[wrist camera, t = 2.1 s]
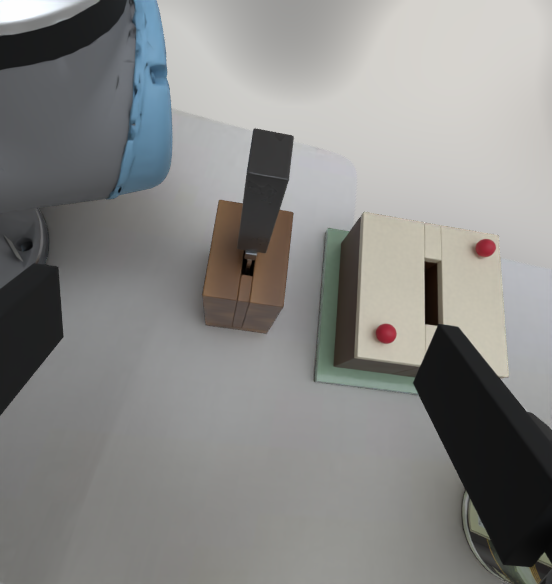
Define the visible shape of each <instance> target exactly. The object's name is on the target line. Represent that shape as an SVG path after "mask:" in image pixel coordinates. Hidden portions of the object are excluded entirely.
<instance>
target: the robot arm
mask: <svg viewBox="0 0 552 584" xmlns="http://www.w3.org/2000/svg"><path fill="white" fill-rule="evenodd" d="M166 77H167V66H166V49H165V41H164V34H163V28H162V22H161V17H160V12H159V8H158V4H157V1H156V0H0V415H1V414H2V413H3V411H4V410H5V409H6V408H7V406H8V405H9V404H10V403H11V401H12V400H13V399H14V398H15V396H16V395H17V394H18V393H19V392H20V390H21V389H22V388H23V387H24V385H25V384H26V383H27V382H28V380H29V379H30V378H31V377H32V375H33V374H34V373H35V372H36V370H37V369H38V368H39V367H40V365H41V364H42V363H43V362H44V360H45V359H46V358H47V357H48V355H49V354H50V353H51V352H52V350H53V349H54V348H55V347H56V345H57V344H58V343H59V342H60V340H61V339H62V338H63V325H62V311H61V297H60V284H59V270H58V267H56V266H49V265H45V264H46V260H47V257H48V251H49V234H48V229H47V225H46V222H45V220H44V218H43V216H42V214H41V212H40V210H39V209H38V208H41V207H48V206H56V205H63V204H71V203H78V202H86V201H93V200H101V199H106V200H107V199H114V198H116V197H118V196H119V195H122V194H127V193H132V192H136V191H141V190H146V189H150V188H153V187H155V186H157V185H158V184H160V183H161V182H162V181H163V180H164V179H165V178H166V176H167V174H168V172H169V169H170V165H171V158H172V114H171V100H170V88H169V84H168V81H167V78H166ZM413 384H414V386H415V388H416V390H417V392H418V394H419V396H420V398H421V401H422V403H423V405H424V407H425V409H426V411H427V413H428V415H429V417H430V419H431V421H432V423H433V425H434V427H435V429H436V431H437V433H438V435H439V437H440V439H441V441H442V443H443V445H444V447H445V449H446V451H447V453H448V455H449V457H450V459H451V461H452V463H453V465H454V467H455V469H456V471H457V473H458V475H459V477H460V479H461V481H462V483H463V485H464V487H465V489H466V491H467V493H468V495H469V497H470V499H471V502H472V504H473V506H474V508H475V510H476V512H477V514H478V516H479V518H480V520H481V522H482V524H483V526H484V528H485V530H486V532H487V534H488V536H489V538H490V540H491V542H492V544H493V546H494V548H495V550H496V552H497V554H498V556H499V558H500V560H501V562H502V564H503V565H509V566H520V567H533V566H534V564H535V563H536V562H537V561H538V560H539V558H540V557H541V556H542V555H543V554H544V552H545V554H546V556H547V557H548V559H549V561H550V562H551V564H552V430H551V429H550V427H549V426H547V425H546V424H545V423H544V422H542V421H541V420H540V419H539V418H537V417H536V416H535V415H534V414H533V413H530V412H526V411H525V409H524V408H523V407H522V406H521V404H520V403H519V402H518V401H517V399H516V398H515V397H514V395H513V394H512V393H511V392H510V390H509V389H508V388H507V387H506V385H505V384H504V383H503V382H502V380H501V379H500V378H499V377H498V375H497V374H496V373H495V372H494V370H493V369H492V368H491V367H490V365H489V364H488V363H487V362H486V360H485V359H484V358H483V357H482V355H481V354H480V353H479V352H478V350H477V349H476V348H475V347H474V345H473V344H472V343H471V342H470V340H469V339H468V338H467V337H466V335H465V334H464V333H463V332H462V330H461V329H460V328H459V327H457V326H450V325H444V324H438V326H437V328H436V331H435V333H434V335H433V338H432V340H431V342H430V345H429V347H428V349H427V351H426V354H425V356H424V358H423V361H422V363H421V365H420V368H419V370H418V372H417V374H416V377H415V379H414V381H413ZM539 584H552V569H551V570H550V571H549V572H548V574H547V575H546V576H545V577H544V578H543V579H542V580H541V581H540V583H539Z"/></svg>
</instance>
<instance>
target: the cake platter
mask: <svg viewBox="0 0 552 584" xmlns="http://www.w3.org/2000/svg"><path fill="white" fill-rule="evenodd" d="M348 233H349V231H343V230H337V229H332V228H328V229H327V231H326V235H325V248H324V261H323V274H322V287H321V300H320V313H319V326H318V339H317V352H316V365H315V378H314V382H321V383H328V384H336V385H344V386H352V387H360V388H368V389H376V390H384V391H392V392H400V393H408V394H415V395H419V394H418V392H417V390H416V388H415V386H414V384H413V381H414V379H415V377H408V376H400V375H393V374H385V373H377V372H370V371H362V370H354V369H347V368H339V367H334V366H333V365H334V349H335V333H336V317H337V301H338V285H339V270H340V254H341V243H342V241H343V240H344V239H345V237H346V236H347V234H348Z"/></svg>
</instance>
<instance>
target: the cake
mask: <svg viewBox="0 0 552 584" xmlns="http://www.w3.org/2000/svg"><path fill="white" fill-rule="evenodd" d="M438 324H444V325H450V326H457V327H459V328H460V329H461V330H462V332H463V333H464V334H465V335H466V337H467V338H468V339H469V340H470V342H471V343H472V344H473V345H474V347H475V348H476V349H477V350H478V352H479V353H480V354H481V355H482V357H483V358H484V359H485V360H486V362H487V363H488V364H489V365H490V367H491V368H492V369H493V370H494V372H495V373H496V374H497V375H498V377H499V378H507V377H509V372H508V358H507V344H506V330H505V317H504V303H503V289H502V275H501V261H500V248H499V236H498V235H494V234H488V233H482V232H476V231H471V230H465V229H459V228H454V227H448V226H442V225H441V226H440V225H436V224H430V223H424V222H419V221H414V220H408V219H401V218H396V217H391V216H385V215H379V214H373V213H368V212H363V214H362V215H361V217H360V218H359V219H358V221H357V222H356V223H355V225H354V226H353V228H352V229H351V230H350V232H349V233H348V234H347V236H346V237H345V239H344V240H343V241H342V243H341V254H340V270H339V285H338V301H337V317H336V333H335V349H334V365H333V366H334V367H339V368H347V369H354V370H362V371H370V372H377V373H385V374H393V375H400V376H408V377H416V374H417V372H418V370H419V368H420V365H421V363H422V361H423V358H424V356H425V354H426V351H427V349H428V347H429V345H430V342H431V340H432V338H433V335H434V333H435V331H436V328H437V326H438Z"/></svg>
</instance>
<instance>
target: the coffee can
mask: <svg viewBox="0 0 552 584" xmlns="http://www.w3.org/2000/svg"><path fill="white" fill-rule="evenodd" d="M462 518H463V527H464V531H465V534H466V537H467V540H468V543H469V545H470V547H471V549H472V551H473V552H474V554H475V556H476V557H477V559H478V560H479V561H480V562H481V564H482V565H483V566H484V567H485V568H486V569H487V570H488V571H489V572H491V573H492V574H494V575H495V576H497V577H498V578H500V579H502V580H504V581H507V582H509V583H511V584H539V583H540V581H541V580H542V579H543V578H544V577H545V576H546V575H547V574H548V572H549V571H550V570H551V569H552V564H551V562H550V561H549V559H548V557H547V556H546V554H545V552H544V554H543V555H542V556H541V557H540V558H539V560H538V561H537V562H536V563H535V564H534V566H533V567H520V566H509V565H503V564H502V562H501V560H500V558H499V556H498V554H497V552H496V550H495V548H494V546H493V544H492V542H491V540H490V538H489V536H488V534H487V532H486V530H485V528H484V526H483V524H482V522H481V520H480V518H479V516H478V514H477V512H476V510H475V508H474V506H473V504H472V502H471V499H470V497H469V495H468V493H467V491H465V494H464V499H463V506H462Z"/></svg>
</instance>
